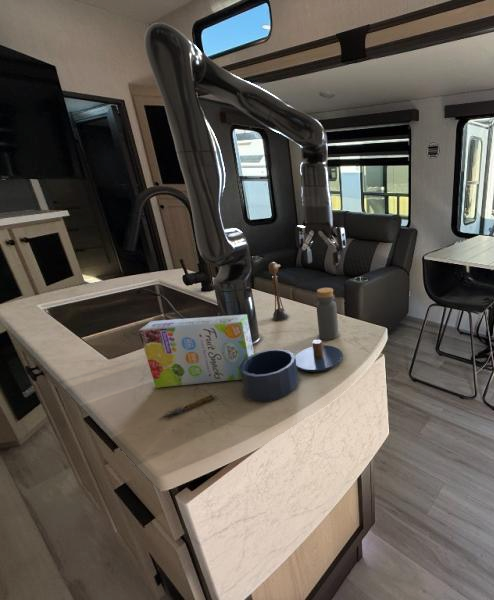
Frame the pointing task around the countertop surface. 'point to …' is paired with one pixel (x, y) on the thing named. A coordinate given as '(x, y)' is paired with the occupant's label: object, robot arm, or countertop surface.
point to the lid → (318, 357)
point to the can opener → (192, 405)
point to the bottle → (327, 314)
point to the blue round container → (269, 375)
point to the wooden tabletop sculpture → (277, 293)
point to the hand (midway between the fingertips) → (322, 263)
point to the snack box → (196, 349)
